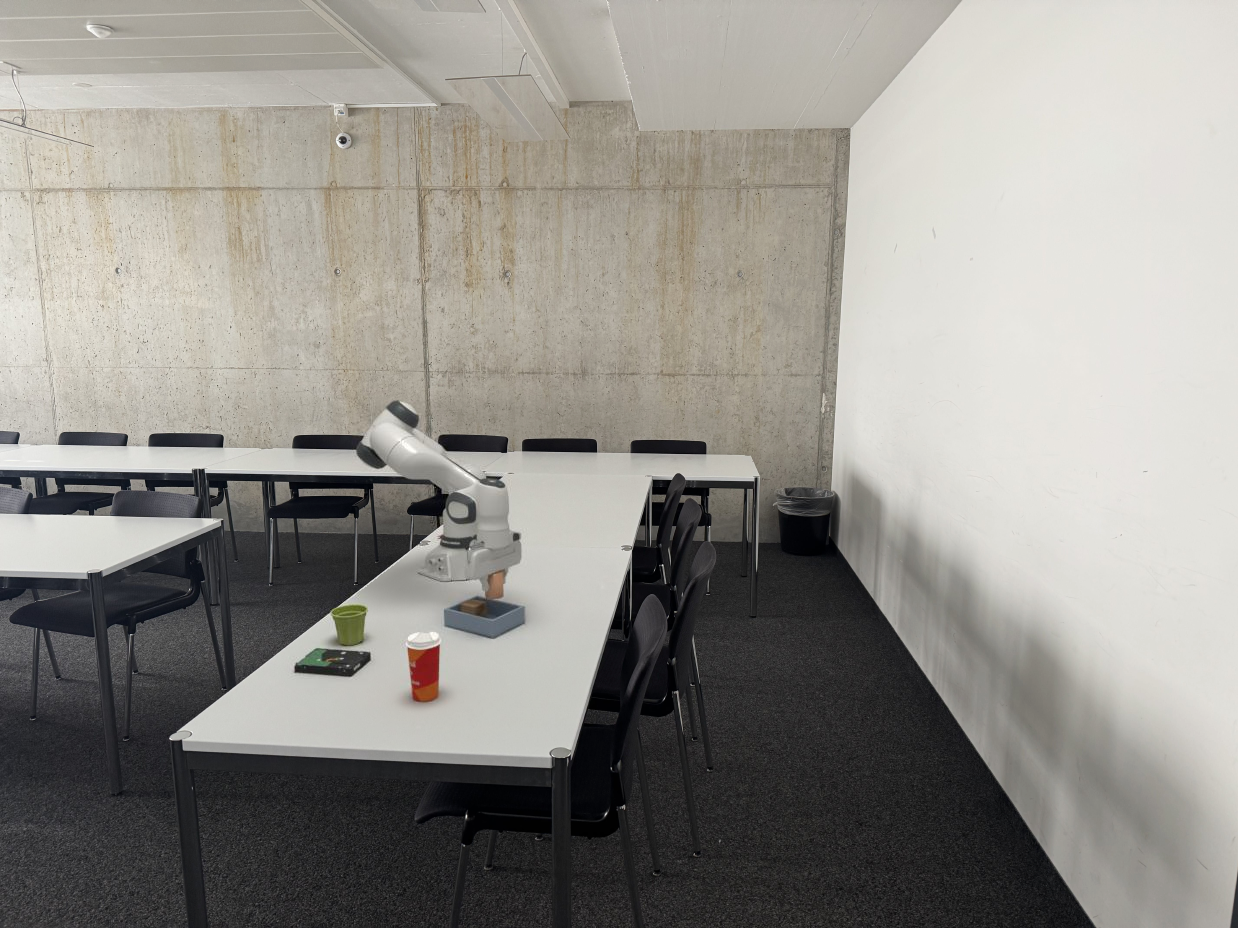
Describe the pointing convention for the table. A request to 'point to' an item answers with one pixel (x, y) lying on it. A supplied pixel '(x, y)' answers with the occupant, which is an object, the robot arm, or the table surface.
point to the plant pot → (349, 623)
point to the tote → (496, 623)
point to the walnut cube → (474, 608)
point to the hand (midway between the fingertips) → (494, 587)
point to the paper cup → (424, 665)
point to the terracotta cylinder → (495, 586)
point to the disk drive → (333, 662)
